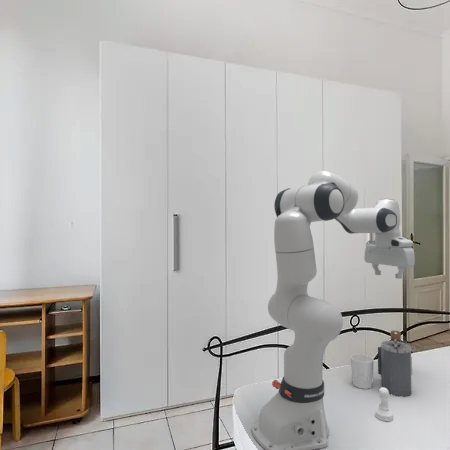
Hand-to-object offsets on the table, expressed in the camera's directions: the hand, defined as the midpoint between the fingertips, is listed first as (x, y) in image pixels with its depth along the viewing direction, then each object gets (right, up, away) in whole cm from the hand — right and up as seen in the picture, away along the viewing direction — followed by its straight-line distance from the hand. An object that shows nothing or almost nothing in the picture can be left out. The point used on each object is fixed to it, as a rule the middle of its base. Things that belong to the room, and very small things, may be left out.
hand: (387, 276), depth 128 cm
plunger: (-2, -37, -10) cm, 38 cm away
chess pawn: (-14, -40, -26) cm, 49 cm away
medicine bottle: (+7, -39, +5) cm, 40 cm away
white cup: (-12, -40, -6) cm, 42 cm away
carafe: (-2, -39, -9) cm, 40 cm away
